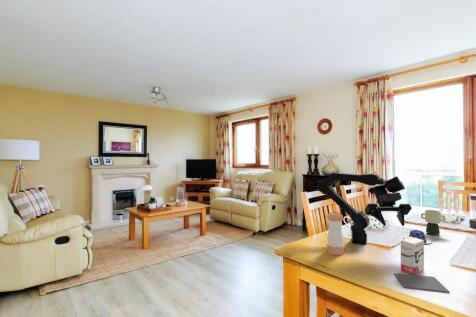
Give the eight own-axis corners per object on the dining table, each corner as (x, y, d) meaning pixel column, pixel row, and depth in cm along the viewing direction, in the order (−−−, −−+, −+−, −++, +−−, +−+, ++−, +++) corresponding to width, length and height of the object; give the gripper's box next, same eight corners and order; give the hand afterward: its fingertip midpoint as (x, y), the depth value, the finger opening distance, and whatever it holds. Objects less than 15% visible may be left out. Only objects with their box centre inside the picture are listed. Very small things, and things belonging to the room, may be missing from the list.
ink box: (414, 275, 95) (414, 243, 95) (400, 270, 99) (400, 240, 99) (424, 269, 100) (424, 239, 100) (410, 265, 104) (410, 236, 104)
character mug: (445, 234, 144) (445, 211, 144) (444, 237, 138) (444, 213, 138) (421, 230, 151) (421, 208, 151) (420, 233, 146) (420, 210, 145)
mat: (403, 287, 86) (403, 286, 86) (393, 273, 96) (393, 272, 96) (449, 292, 83) (449, 291, 83) (434, 277, 93) (434, 276, 93)
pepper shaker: (331, 248, 123) (331, 208, 123) (346, 252, 118) (346, 210, 118) (324, 252, 118) (323, 211, 118) (339, 256, 113) (339, 213, 113)
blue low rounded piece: (404, 236, 142) (404, 226, 142) (431, 240, 135) (431, 230, 135) (402, 241, 133) (402, 231, 133) (431, 246, 125) (431, 236, 125)
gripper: (366, 186, 119) (378, 215, 108) (409, 186, 117) (424, 215, 106) (360, 200, 127) (370, 228, 116) (400, 200, 125) (413, 229, 114)
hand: (394, 225), depth 113 cm, fingers open, 7 cm apart
